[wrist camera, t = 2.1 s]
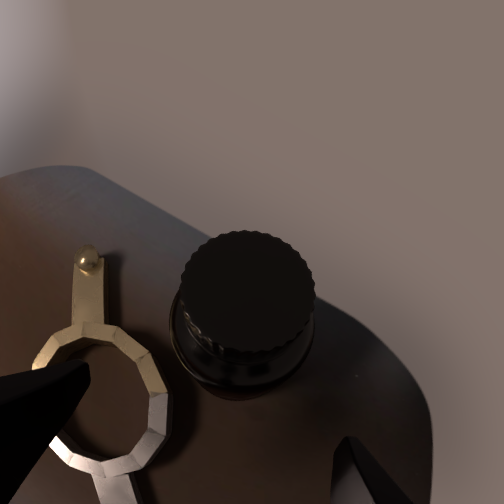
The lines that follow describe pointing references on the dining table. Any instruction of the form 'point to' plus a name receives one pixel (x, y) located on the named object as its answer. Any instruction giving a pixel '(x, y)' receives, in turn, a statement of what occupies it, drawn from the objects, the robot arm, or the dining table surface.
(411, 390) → the dining table surface
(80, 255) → the ring with knobbed tab
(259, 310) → the supplement bottle
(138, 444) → the segmented ring handle
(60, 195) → the dining table surface
